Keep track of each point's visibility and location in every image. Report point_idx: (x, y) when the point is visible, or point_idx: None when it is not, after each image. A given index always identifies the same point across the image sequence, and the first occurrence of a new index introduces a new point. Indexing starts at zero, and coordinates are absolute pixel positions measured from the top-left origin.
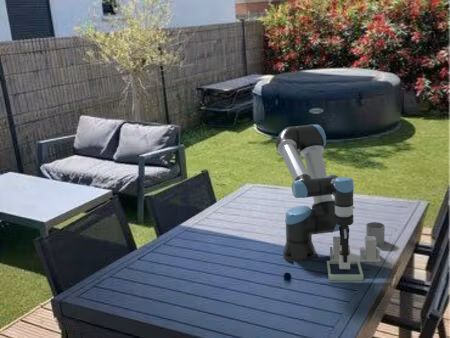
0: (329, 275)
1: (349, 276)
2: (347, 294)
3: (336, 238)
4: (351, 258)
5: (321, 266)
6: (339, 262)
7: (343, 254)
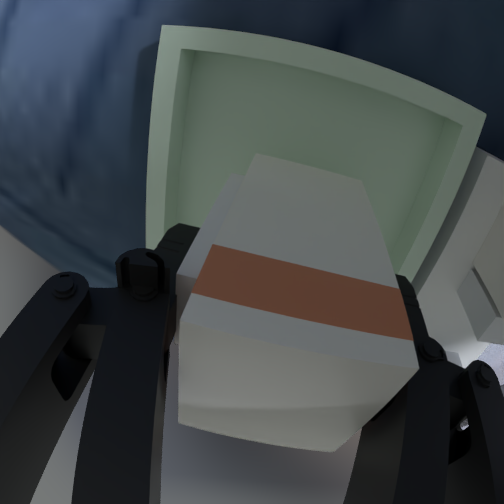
0: (161, 32)
1: (149, 198)
2: (22, 133)
3: None
4: (452, 306)
5: (468, 59)
6: (242, 182)
7: (45, 296)
